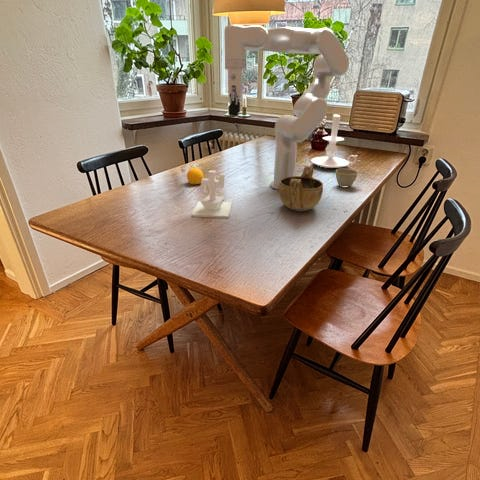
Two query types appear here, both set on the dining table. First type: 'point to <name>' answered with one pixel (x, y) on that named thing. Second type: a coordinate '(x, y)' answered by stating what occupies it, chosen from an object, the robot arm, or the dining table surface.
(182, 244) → the dining table surface
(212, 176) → the figurine
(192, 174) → the apple
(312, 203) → the tan round basket
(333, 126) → the candlestick
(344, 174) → the flower pot
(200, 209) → the cream board
